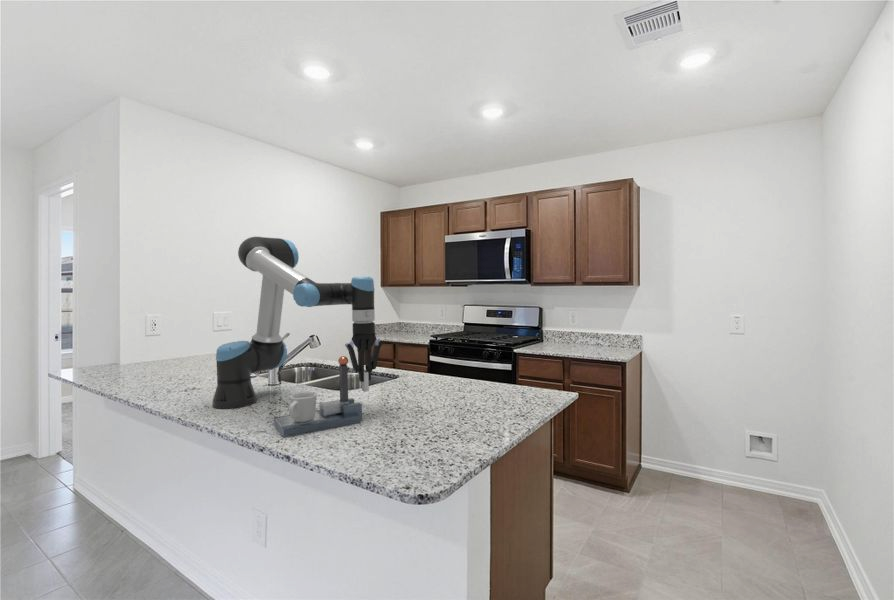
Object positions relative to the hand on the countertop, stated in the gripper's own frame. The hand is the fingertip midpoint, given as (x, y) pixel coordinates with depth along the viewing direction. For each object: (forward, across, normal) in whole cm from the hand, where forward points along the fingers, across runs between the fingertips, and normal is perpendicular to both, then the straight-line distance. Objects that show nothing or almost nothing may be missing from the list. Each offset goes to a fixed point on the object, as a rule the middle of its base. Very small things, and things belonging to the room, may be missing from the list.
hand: (365, 390), depth 151 cm
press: (+9, -16, 0) cm, 18 cm away
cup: (+6, -22, -4) cm, 24 cm away
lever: (+6, -10, 0) cm, 12 cm away
